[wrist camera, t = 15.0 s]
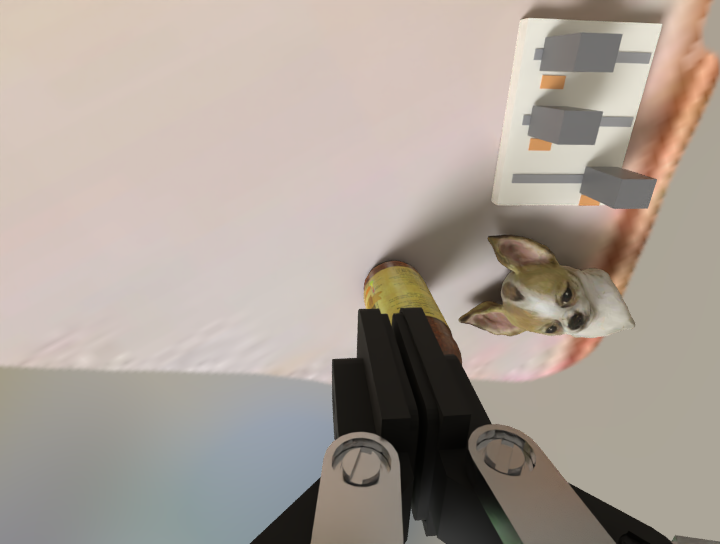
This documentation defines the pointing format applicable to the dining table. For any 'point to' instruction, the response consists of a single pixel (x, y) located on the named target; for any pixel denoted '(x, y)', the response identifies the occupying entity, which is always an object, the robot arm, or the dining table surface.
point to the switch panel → (574, 89)
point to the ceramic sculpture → (549, 296)
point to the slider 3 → (617, 187)
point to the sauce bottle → (406, 299)
